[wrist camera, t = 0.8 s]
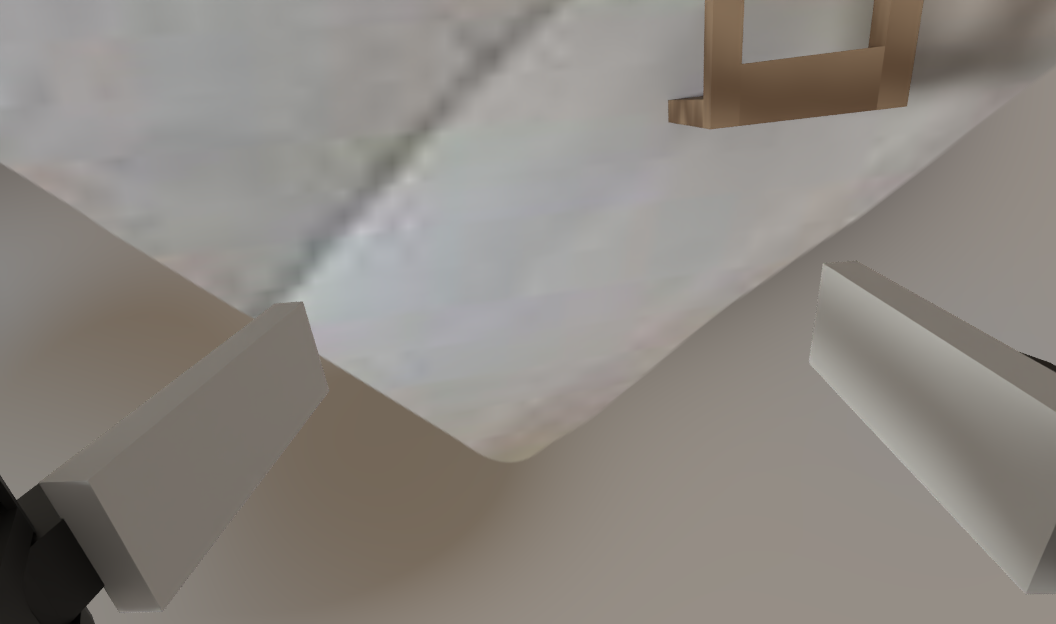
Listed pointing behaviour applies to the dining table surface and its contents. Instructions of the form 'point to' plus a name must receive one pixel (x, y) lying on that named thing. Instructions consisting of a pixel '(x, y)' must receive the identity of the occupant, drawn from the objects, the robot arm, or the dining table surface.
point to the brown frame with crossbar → (800, 72)
